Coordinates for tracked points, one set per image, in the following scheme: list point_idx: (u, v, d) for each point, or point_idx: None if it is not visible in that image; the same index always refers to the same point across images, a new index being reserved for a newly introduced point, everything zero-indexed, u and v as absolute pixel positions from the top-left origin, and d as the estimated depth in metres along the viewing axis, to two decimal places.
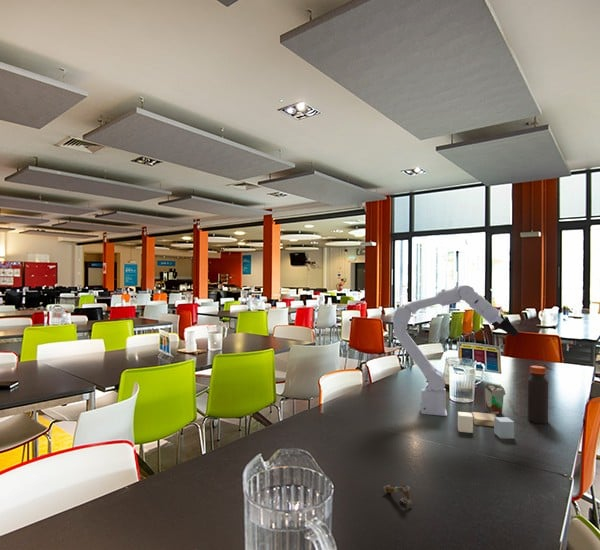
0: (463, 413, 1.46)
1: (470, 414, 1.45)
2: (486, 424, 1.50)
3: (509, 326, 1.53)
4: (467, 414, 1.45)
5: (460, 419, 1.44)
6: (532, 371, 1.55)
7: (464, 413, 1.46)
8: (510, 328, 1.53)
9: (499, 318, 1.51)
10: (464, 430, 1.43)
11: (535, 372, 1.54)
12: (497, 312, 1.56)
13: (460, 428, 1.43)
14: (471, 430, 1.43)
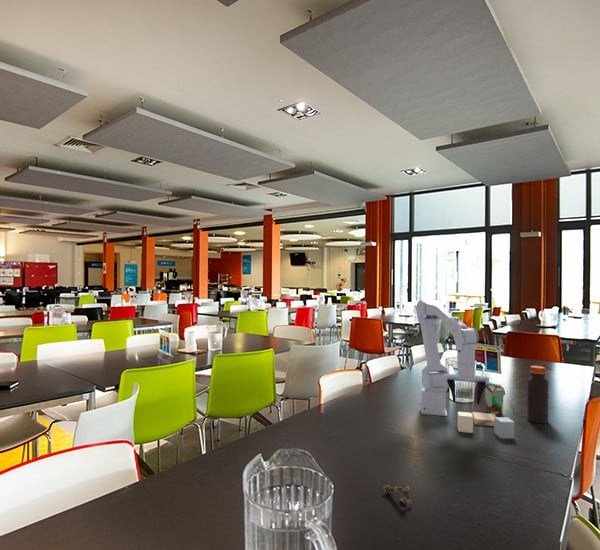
0: (463, 413, 1.46)
1: (470, 414, 1.45)
2: (486, 424, 1.50)
3: None
4: (467, 414, 1.45)
5: (460, 419, 1.44)
6: (532, 371, 1.55)
7: (464, 413, 1.46)
8: None
9: (444, 376, 1.47)
10: (464, 430, 1.43)
11: (535, 372, 1.54)
12: (460, 375, 1.44)
13: (460, 428, 1.43)
14: (471, 430, 1.43)
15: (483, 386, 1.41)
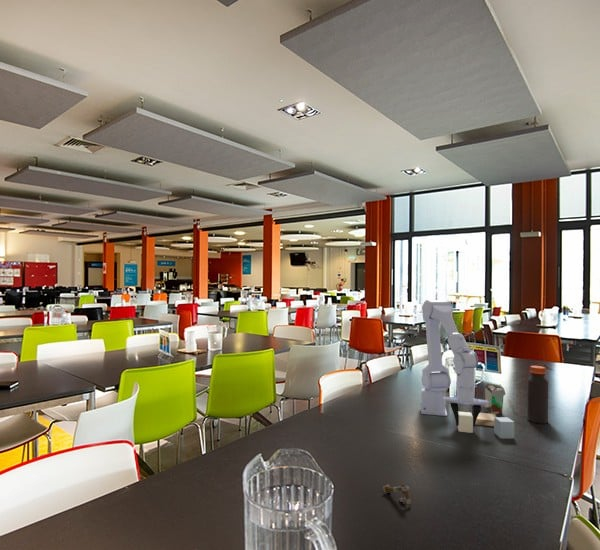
0: (463, 412, 1.46)
1: (470, 414, 1.45)
2: (486, 424, 1.50)
3: None
4: (467, 413, 1.45)
5: (460, 419, 1.43)
6: (532, 371, 1.55)
7: (464, 413, 1.46)
8: None
9: (443, 399, 1.47)
10: (464, 430, 1.43)
11: (535, 372, 1.54)
12: (459, 398, 1.44)
13: (460, 428, 1.43)
14: (471, 430, 1.43)
15: (478, 410, 1.42)
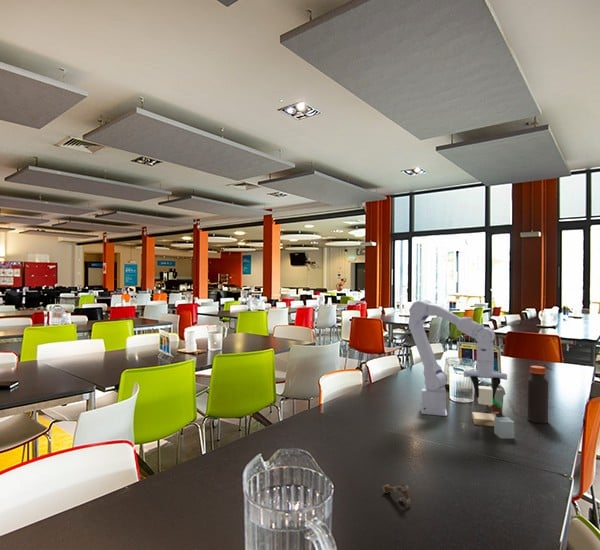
0: (483, 386, 1.54)
1: (490, 388, 1.53)
2: (486, 424, 1.50)
3: None
4: (487, 387, 1.53)
5: (480, 392, 1.51)
6: (532, 371, 1.55)
7: (484, 387, 1.54)
8: None
9: (464, 372, 1.55)
10: (484, 402, 1.51)
11: (535, 372, 1.54)
12: (479, 371, 1.52)
13: (480, 400, 1.51)
14: (491, 402, 1.50)
15: (498, 382, 1.50)
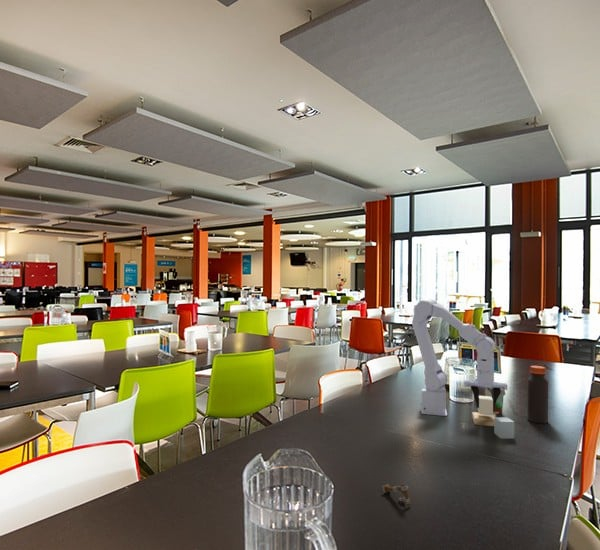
0: (484, 396, 1.55)
1: (490, 398, 1.53)
2: (486, 424, 1.50)
3: None
4: (488, 397, 1.53)
5: (481, 402, 1.52)
6: (532, 371, 1.55)
7: (484, 397, 1.54)
8: (476, 399, 1.54)
9: (464, 382, 1.55)
10: (484, 412, 1.51)
11: (535, 372, 1.54)
12: (479, 382, 1.52)
13: (480, 411, 1.52)
14: (491, 412, 1.51)
15: (498, 392, 1.50)
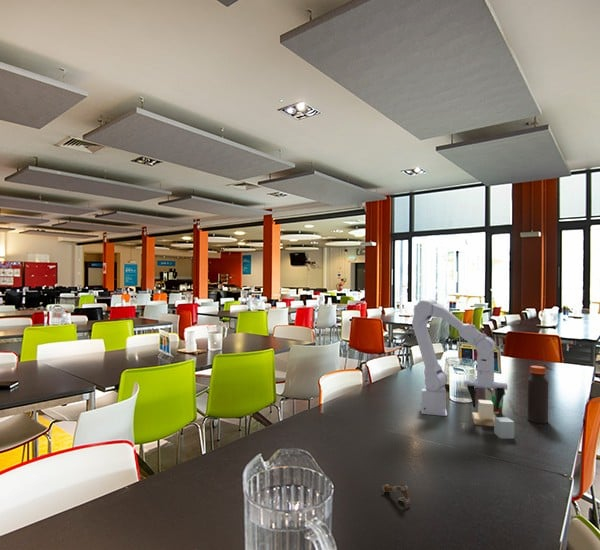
0: (484, 400, 1.55)
1: (490, 402, 1.53)
2: (486, 424, 1.50)
3: None
4: (488, 401, 1.54)
5: (481, 406, 1.52)
6: (532, 371, 1.55)
7: (484, 401, 1.54)
8: None
9: (464, 382, 1.55)
10: (485, 417, 1.51)
11: (535, 372, 1.54)
12: (479, 382, 1.52)
13: (481, 415, 1.52)
14: (492, 416, 1.51)
15: (502, 392, 1.50)
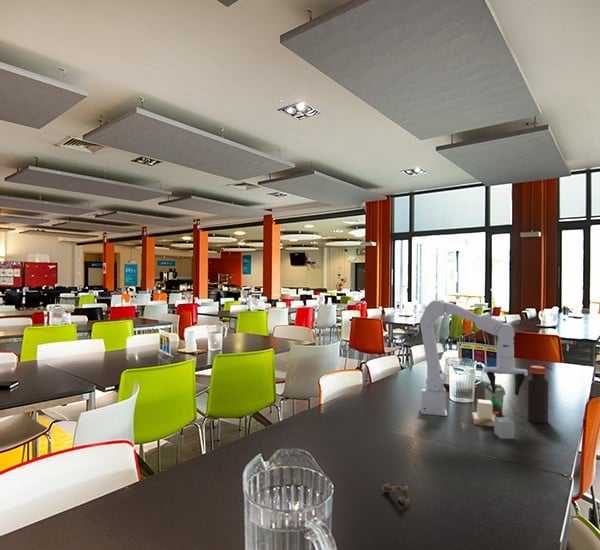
0: (483, 400, 1.55)
1: (489, 401, 1.53)
2: (486, 424, 1.50)
3: None
4: (487, 401, 1.54)
5: (480, 406, 1.52)
6: (532, 371, 1.55)
7: (484, 400, 1.54)
8: (492, 384, 1.55)
9: (484, 369, 1.55)
10: (484, 416, 1.51)
11: (535, 372, 1.54)
12: (499, 367, 1.53)
13: (480, 414, 1.52)
14: (490, 416, 1.51)
15: (522, 378, 1.50)
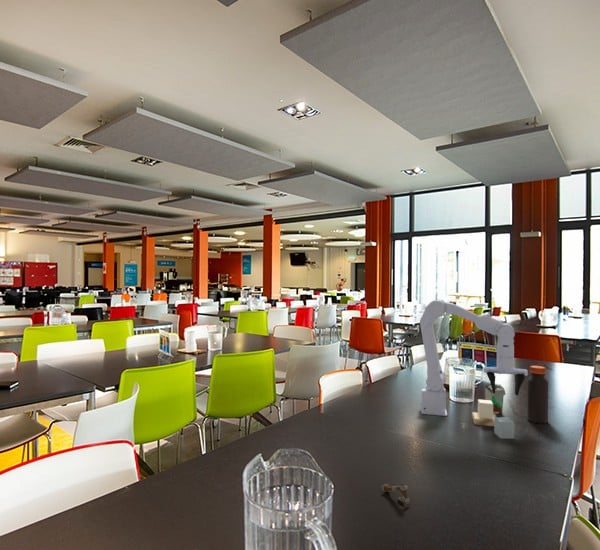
0: (483, 400, 1.55)
1: (490, 401, 1.53)
2: (486, 424, 1.50)
3: None
4: (487, 401, 1.54)
5: (481, 406, 1.52)
6: (532, 371, 1.55)
7: (484, 400, 1.54)
8: (492, 384, 1.55)
9: (484, 369, 1.55)
10: (485, 416, 1.51)
11: (535, 372, 1.54)
12: (499, 367, 1.53)
13: (481, 414, 1.52)
14: (491, 416, 1.51)
15: (522, 378, 1.50)
